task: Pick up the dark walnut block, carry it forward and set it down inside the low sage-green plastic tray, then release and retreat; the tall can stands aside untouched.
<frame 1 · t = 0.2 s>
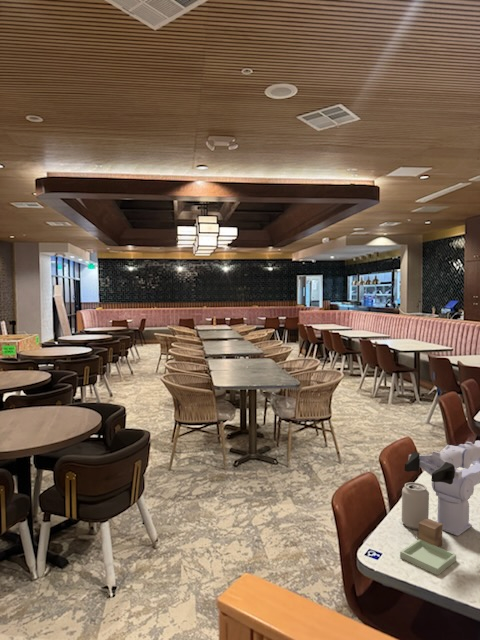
hand: (419, 472, 122), 21 cm above the table, tool horizontal, fingers open, 7 cm apart
block: (430, 544, 125), on the table
tray: (427, 559, 118), on the table
can: (414, 525, 137), on the table
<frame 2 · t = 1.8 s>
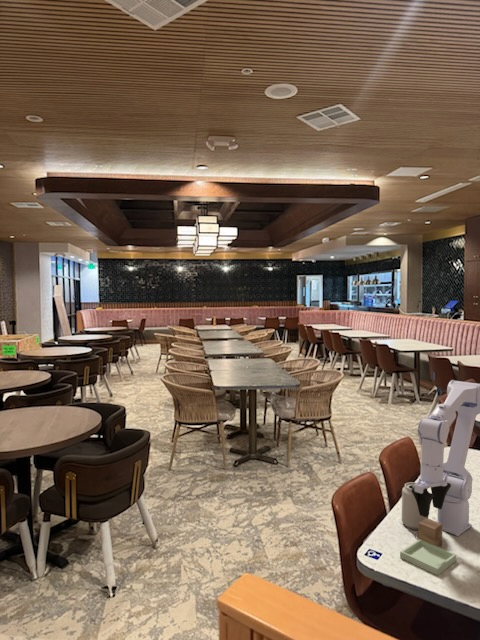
hand: (430, 511, 125), 9 cm above the table, tool pointing down, fingers open, 7 cm apart
nothing on the table moved.
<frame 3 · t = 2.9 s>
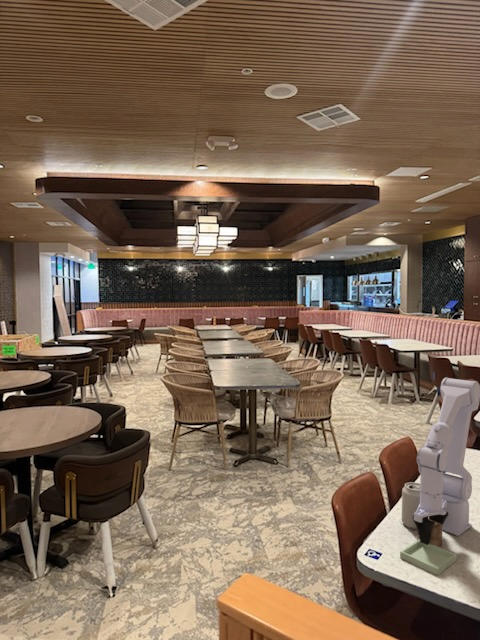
hand: (429, 539, 125), 1 cm above the table, tool pointing down, fingers open, 5 cm apart
nothing on the table moved.
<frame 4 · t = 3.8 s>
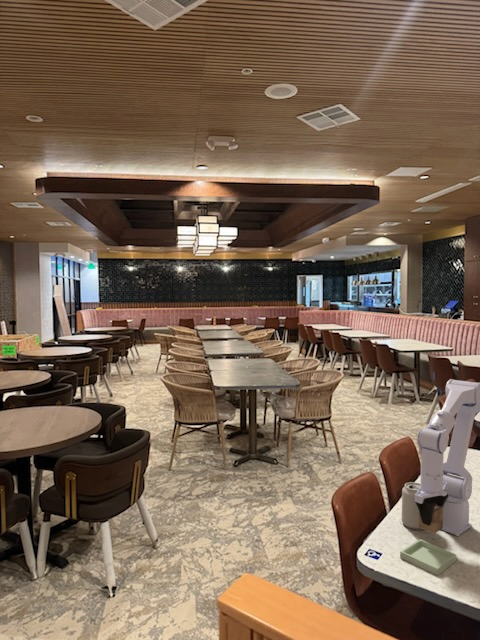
hand: (430, 521, 125), 7 cm above the table, tool pointing down, fingers closed on block, 4 cm apart
block: (430, 527, 125), point 5 cm above the table, touching gripper
everything else where it was.
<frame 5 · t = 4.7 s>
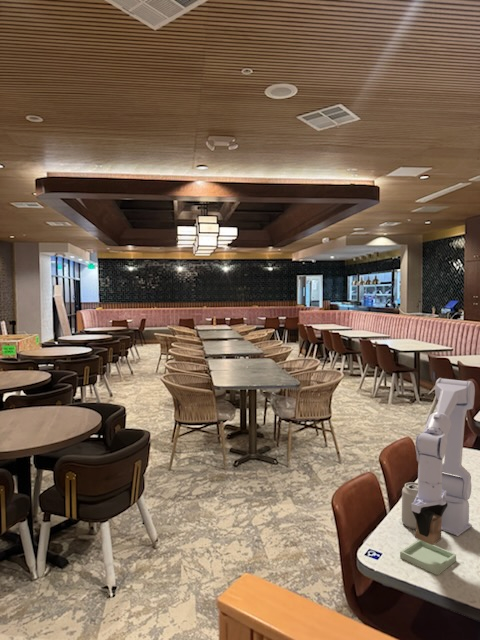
hand: (428, 531, 118), 7 cm above the table, tool pointing down, fingers closed on block, 4 cm apart
block: (428, 538, 118), point 5 cm above the table, touching gripper
everything else where it was.
when the fingers open (3 cm above the table, at t = 5.8 s): block drops 1 cm, resting on tray.
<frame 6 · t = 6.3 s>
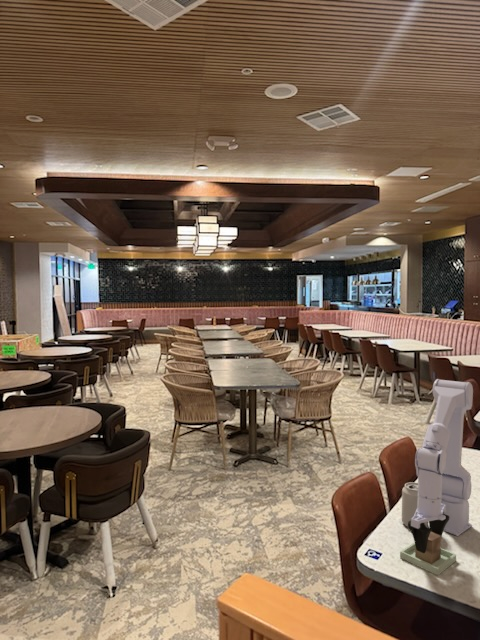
hand: (428, 546, 118), 3 cm above the table, tool pointing down, fingers open, 7 cm apart
block: (427, 557, 118), resting on tray
everything else where it was.
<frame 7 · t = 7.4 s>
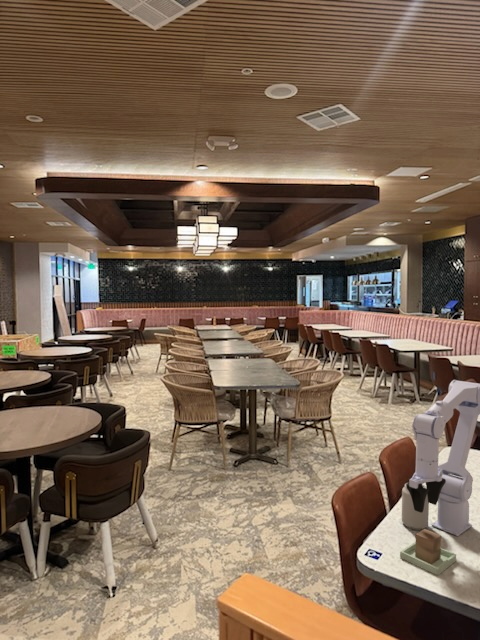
hand: (425, 507, 125), 10 cm above the table, tool pointing down, fingers open, 7 cm apart
nothing on the table moved.
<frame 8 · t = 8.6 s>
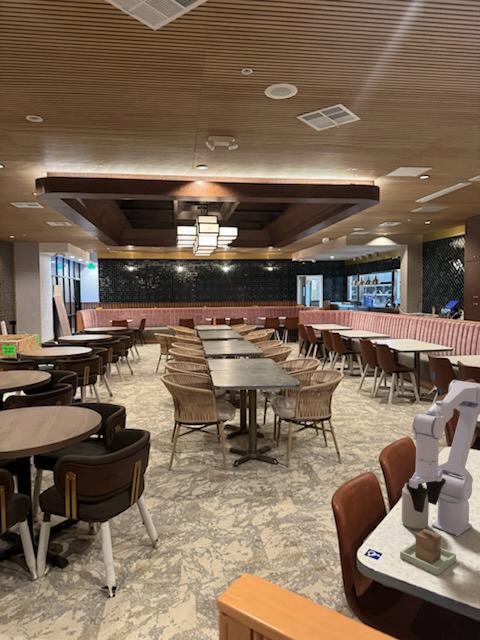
hand: (425, 507, 125), 10 cm above the table, tool pointing down, fingers open, 7 cm apart
nothing on the table moved.
at the end: block inside the target area on the tray (0.1 cm from its centre), point 0.4 cm above the tray's base; block tilted 0°; the gripper is holding nothing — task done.
